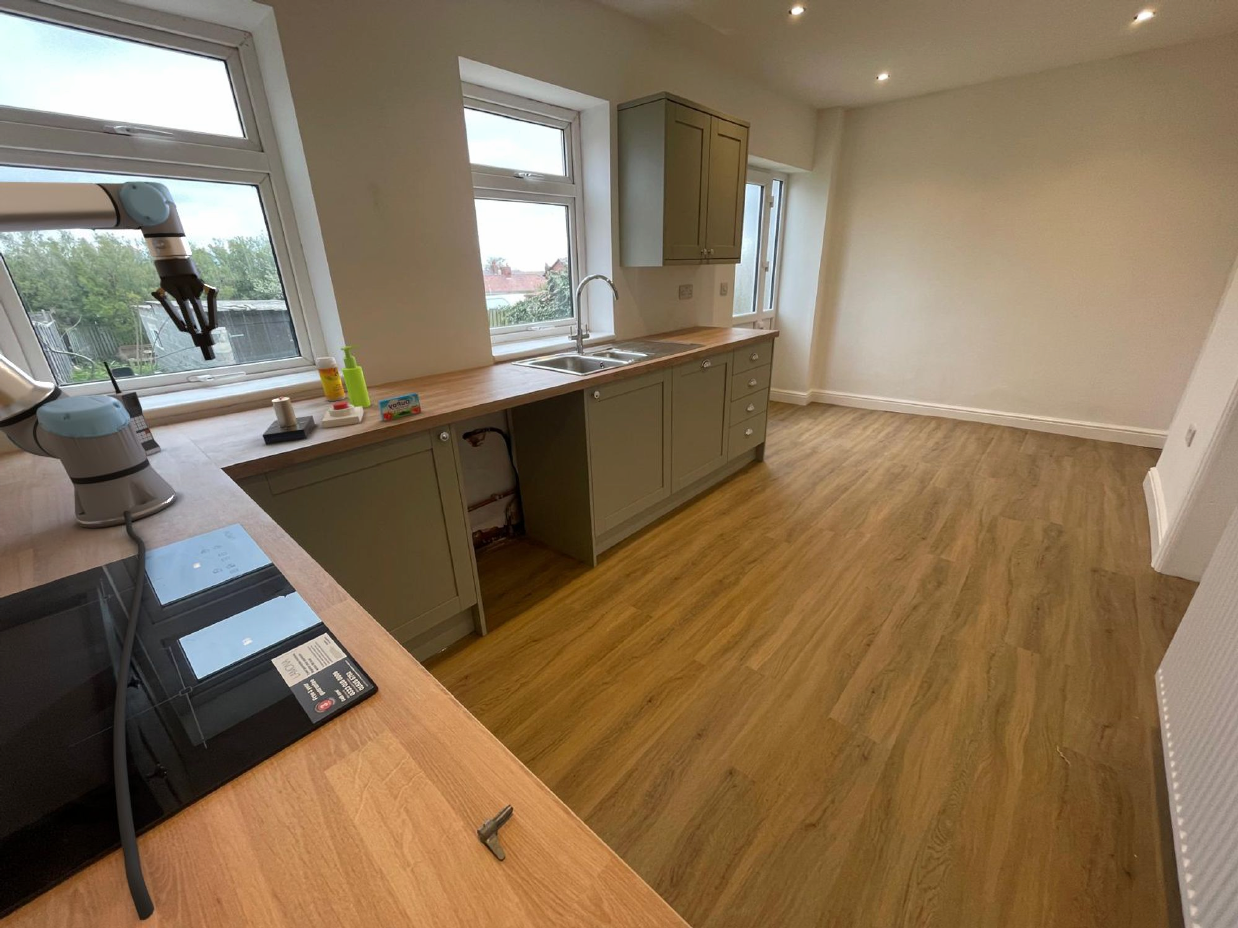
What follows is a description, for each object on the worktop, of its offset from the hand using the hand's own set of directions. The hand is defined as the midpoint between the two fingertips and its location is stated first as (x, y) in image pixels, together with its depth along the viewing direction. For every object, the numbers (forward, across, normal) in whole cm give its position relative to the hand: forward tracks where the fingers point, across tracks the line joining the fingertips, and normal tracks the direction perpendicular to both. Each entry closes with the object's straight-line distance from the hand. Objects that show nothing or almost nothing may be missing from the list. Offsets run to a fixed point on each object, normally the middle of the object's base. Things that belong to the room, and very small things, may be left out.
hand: (210, 359), depth 126 cm
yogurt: (+25, +40, +11) cm, 48 cm away
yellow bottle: (+25, +17, +46) cm, 55 cm away
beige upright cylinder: (+21, +10, +8) cm, 25 cm away
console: (+24, +10, +8) cm, 28 cm away
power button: (+21, +23, +16) cm, 35 cm away
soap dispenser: (+25, +27, +31) cm, 48 cm away
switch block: (+24, +23, +16) cm, 37 cm away
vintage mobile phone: (+25, -25, +10) cm, 36 cm away
